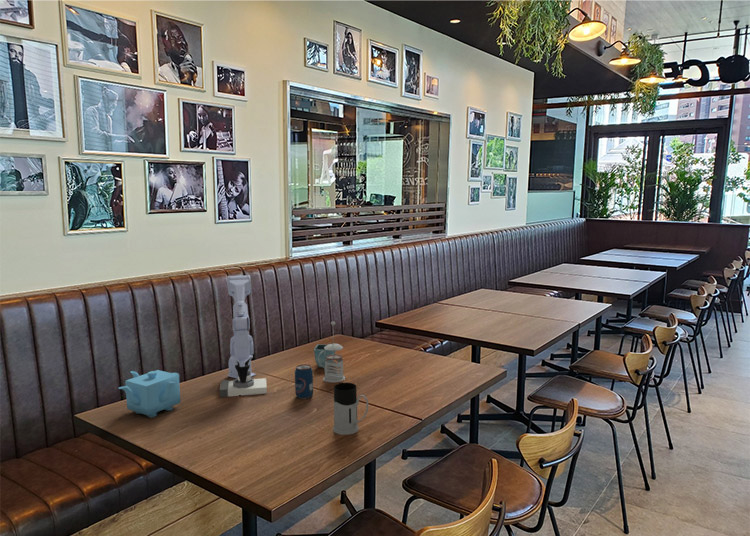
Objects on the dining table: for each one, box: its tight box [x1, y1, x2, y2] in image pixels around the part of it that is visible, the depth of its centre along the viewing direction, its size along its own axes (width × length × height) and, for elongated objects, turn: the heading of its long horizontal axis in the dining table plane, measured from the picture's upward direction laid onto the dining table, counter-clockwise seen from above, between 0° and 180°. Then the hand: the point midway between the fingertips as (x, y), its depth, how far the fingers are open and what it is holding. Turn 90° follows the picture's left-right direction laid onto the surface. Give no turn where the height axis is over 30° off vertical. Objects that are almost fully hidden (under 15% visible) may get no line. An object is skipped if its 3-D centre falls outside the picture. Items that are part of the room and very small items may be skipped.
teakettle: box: [117, 369, 182, 418], centre depth 199 cm, size 19×19×15 cm
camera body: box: [219, 377, 268, 398], centre depth 219 cm, size 18×11×4 cm, turn 102°
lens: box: [238, 371, 252, 384], centre depth 219 cm, size 5×5×5 cm
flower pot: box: [313, 343, 336, 368], centre depth 249 cm, size 9×9×9 cm
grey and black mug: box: [332, 382, 369, 436], centre depth 180 cm, size 9×14×15 cm, turn 51°
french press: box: [318, 321, 346, 384], centre depth 231 cm, size 10×12×25 cm
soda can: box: [294, 363, 314, 400], centre depth 212 cm, size 7×7×12 cm
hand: (243, 378), depth 219 cm, fingers open, 7 cm apart
